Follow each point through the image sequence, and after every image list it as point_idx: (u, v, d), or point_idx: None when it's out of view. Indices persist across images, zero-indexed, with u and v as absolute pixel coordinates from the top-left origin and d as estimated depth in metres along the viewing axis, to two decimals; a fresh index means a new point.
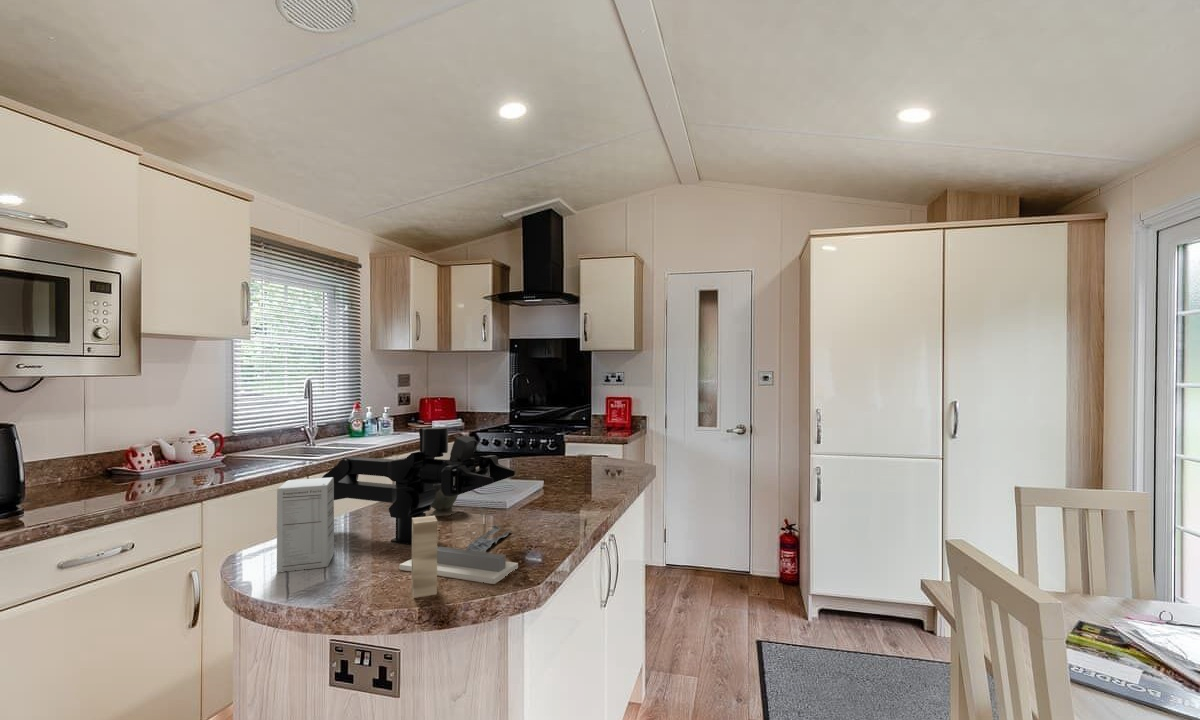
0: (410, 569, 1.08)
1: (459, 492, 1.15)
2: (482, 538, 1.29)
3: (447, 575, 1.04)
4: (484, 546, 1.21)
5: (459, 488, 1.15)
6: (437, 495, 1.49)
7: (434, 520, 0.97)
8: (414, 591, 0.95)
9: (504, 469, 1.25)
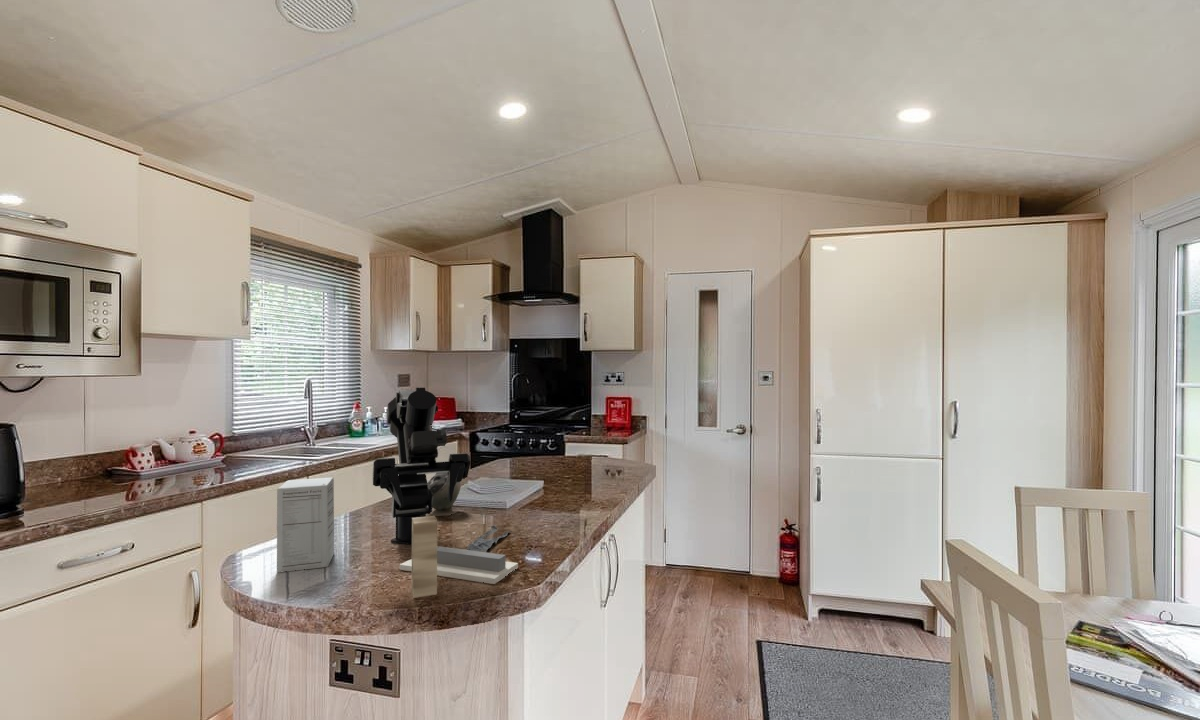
0: (410, 569, 1.08)
1: (383, 487, 1.08)
2: (481, 538, 1.29)
3: (447, 575, 1.04)
4: (484, 546, 1.21)
5: (383, 484, 1.07)
6: (437, 495, 1.49)
7: (434, 520, 0.97)
8: (414, 591, 0.95)
9: (449, 487, 1.08)
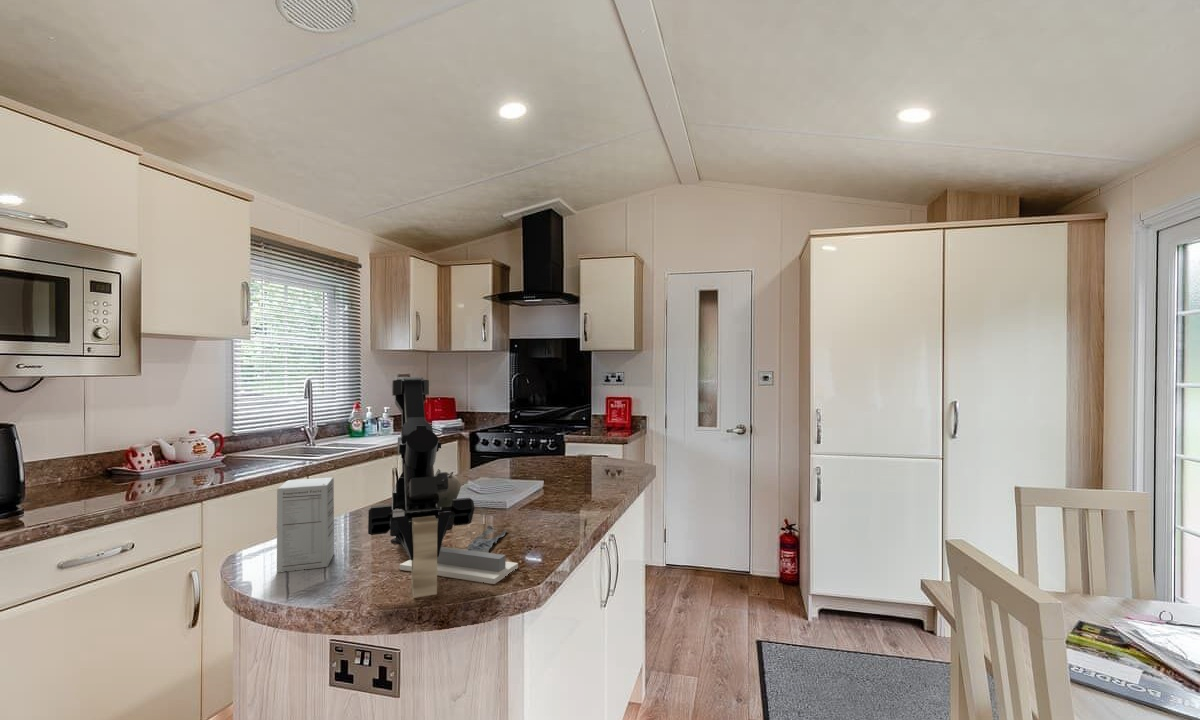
0: (410, 569, 1.08)
1: (393, 535, 1.00)
2: (480, 538, 1.28)
3: (447, 575, 1.04)
4: (485, 546, 1.21)
5: (393, 532, 1.00)
6: None
7: (434, 520, 0.97)
8: (414, 591, 0.95)
9: None
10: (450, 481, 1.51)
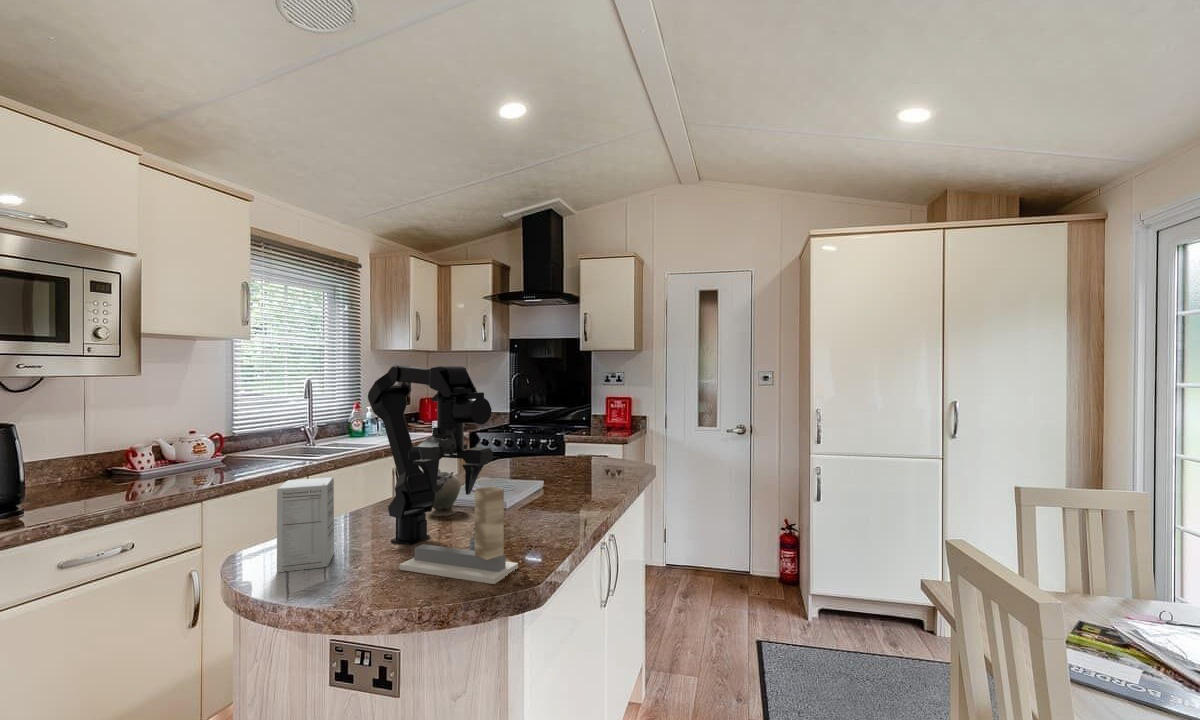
0: (410, 569, 1.08)
1: None
2: None
3: (447, 575, 1.04)
4: None
5: None
6: (437, 495, 1.49)
7: (500, 488, 1.07)
8: (487, 554, 1.04)
9: None
10: (450, 481, 1.51)
